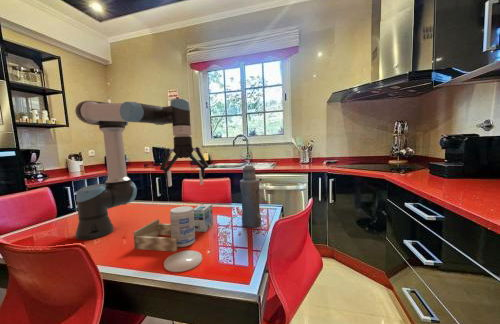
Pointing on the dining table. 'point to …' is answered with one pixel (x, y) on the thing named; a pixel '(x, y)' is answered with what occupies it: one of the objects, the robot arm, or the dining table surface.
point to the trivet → (182, 261)
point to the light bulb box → (203, 217)
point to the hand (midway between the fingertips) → (185, 185)
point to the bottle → (250, 198)
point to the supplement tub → (182, 225)
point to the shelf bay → (154, 237)
